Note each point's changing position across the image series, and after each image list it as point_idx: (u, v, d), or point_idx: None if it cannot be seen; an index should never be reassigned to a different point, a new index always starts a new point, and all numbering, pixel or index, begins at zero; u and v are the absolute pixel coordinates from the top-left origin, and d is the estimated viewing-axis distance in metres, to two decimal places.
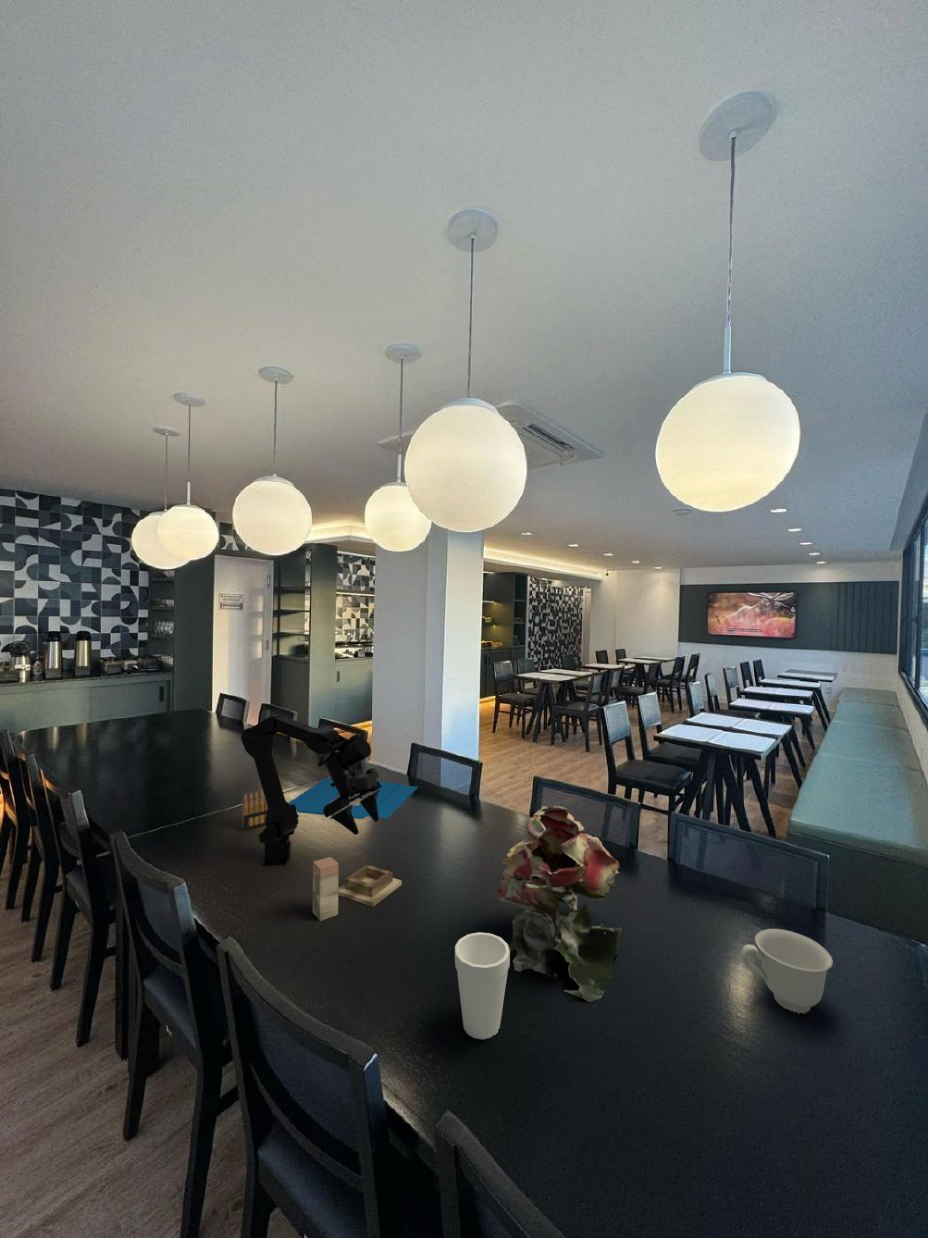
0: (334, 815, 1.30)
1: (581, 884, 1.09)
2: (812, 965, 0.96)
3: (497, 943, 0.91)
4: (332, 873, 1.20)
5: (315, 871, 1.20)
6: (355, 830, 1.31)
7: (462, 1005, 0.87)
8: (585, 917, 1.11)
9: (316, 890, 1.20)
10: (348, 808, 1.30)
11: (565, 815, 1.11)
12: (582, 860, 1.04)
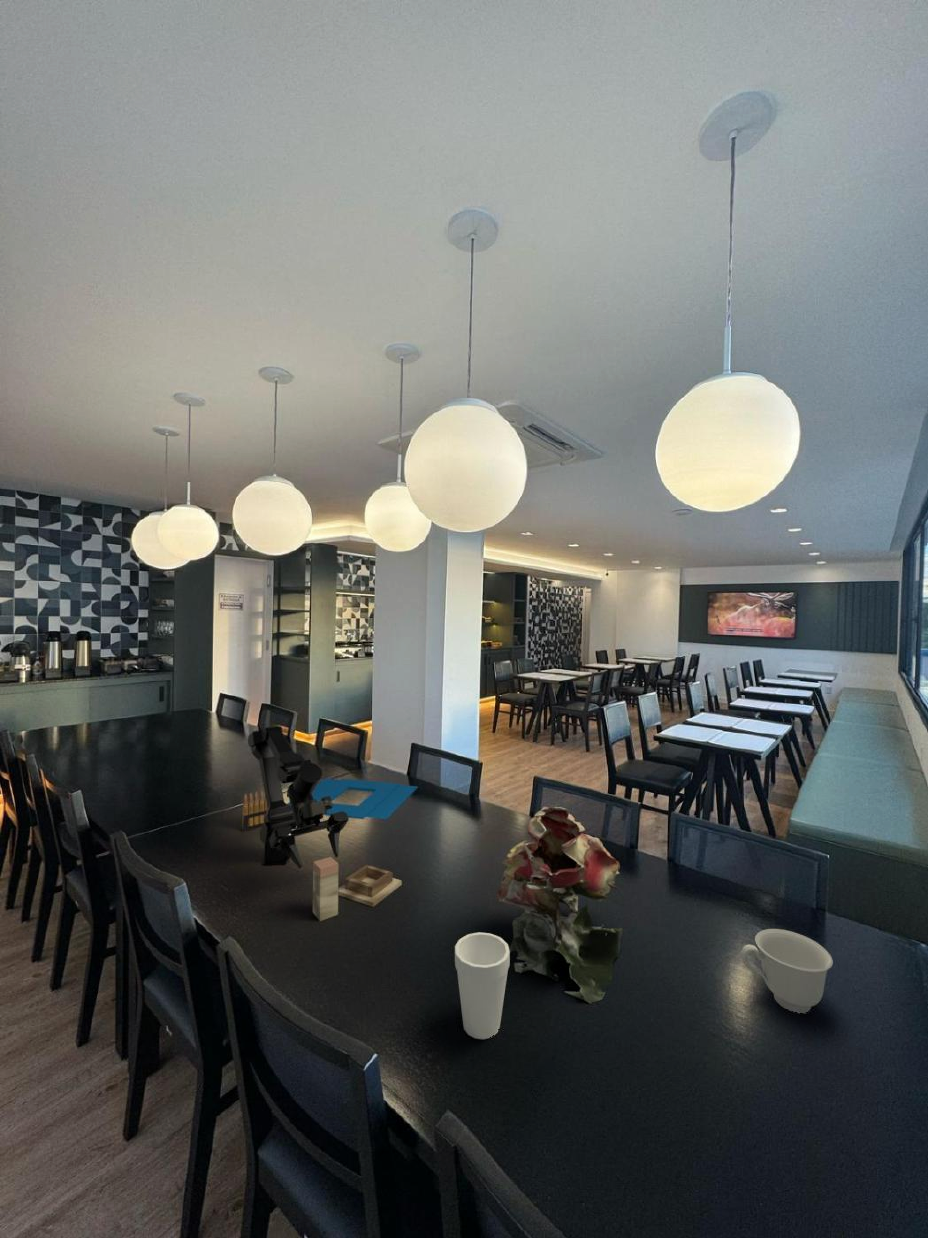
0: (278, 845, 1.24)
1: (582, 885, 1.09)
2: (812, 965, 0.96)
3: (497, 943, 0.91)
4: (332, 873, 1.20)
5: (315, 871, 1.20)
6: (298, 863, 1.21)
7: (462, 1005, 0.87)
8: (586, 918, 1.11)
9: (316, 890, 1.20)
10: (288, 837, 1.22)
11: (566, 816, 1.10)
12: (583, 861, 1.04)
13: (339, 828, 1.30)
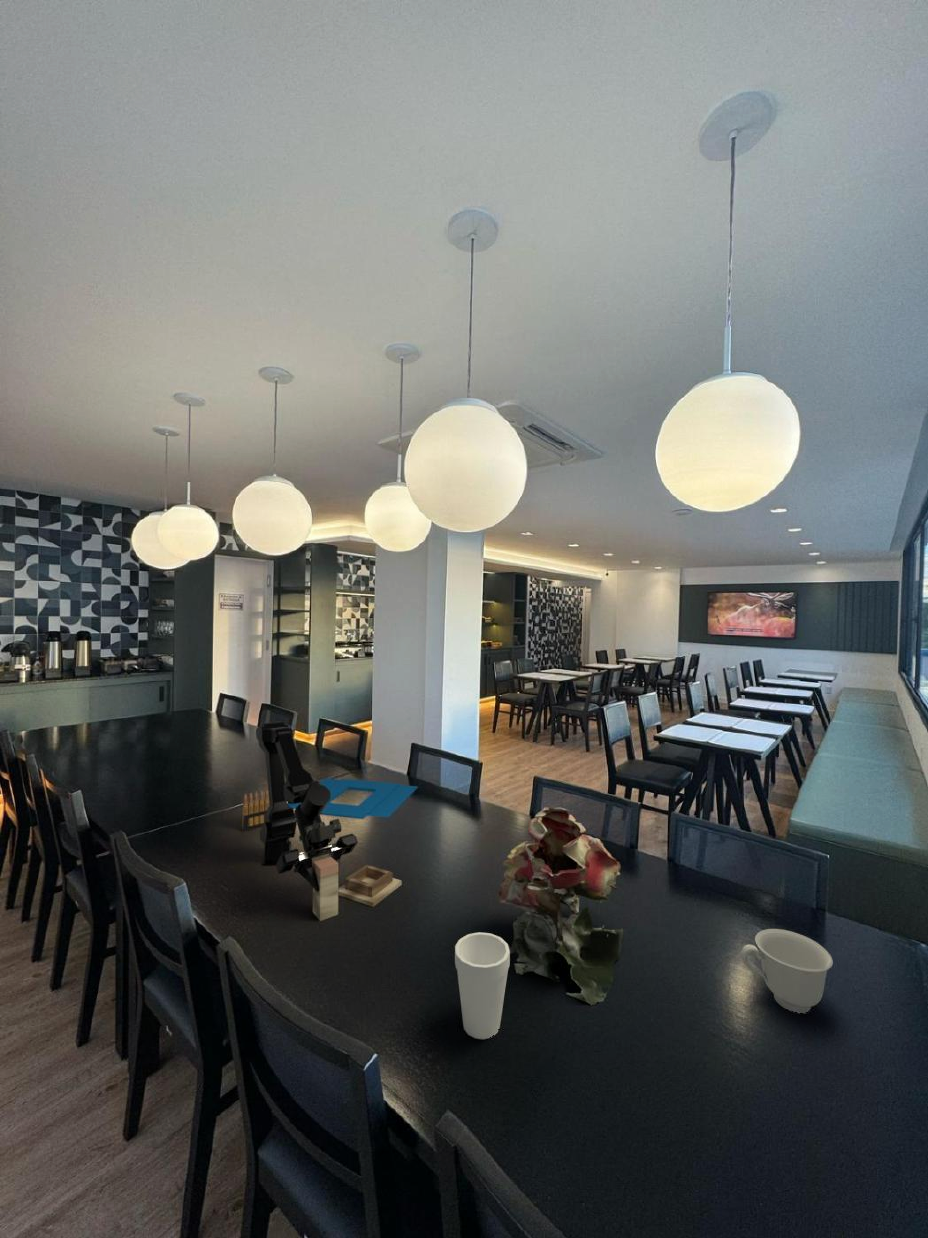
0: (295, 868, 1.21)
1: (582, 886, 1.08)
2: (812, 965, 0.96)
3: (497, 943, 0.91)
4: (332, 873, 1.20)
5: (315, 871, 1.20)
6: (315, 886, 1.19)
7: (462, 1005, 0.87)
8: (586, 919, 1.10)
9: None
10: (305, 860, 1.20)
11: (566, 816, 1.10)
12: (584, 862, 1.04)
13: (339, 854, 1.25)
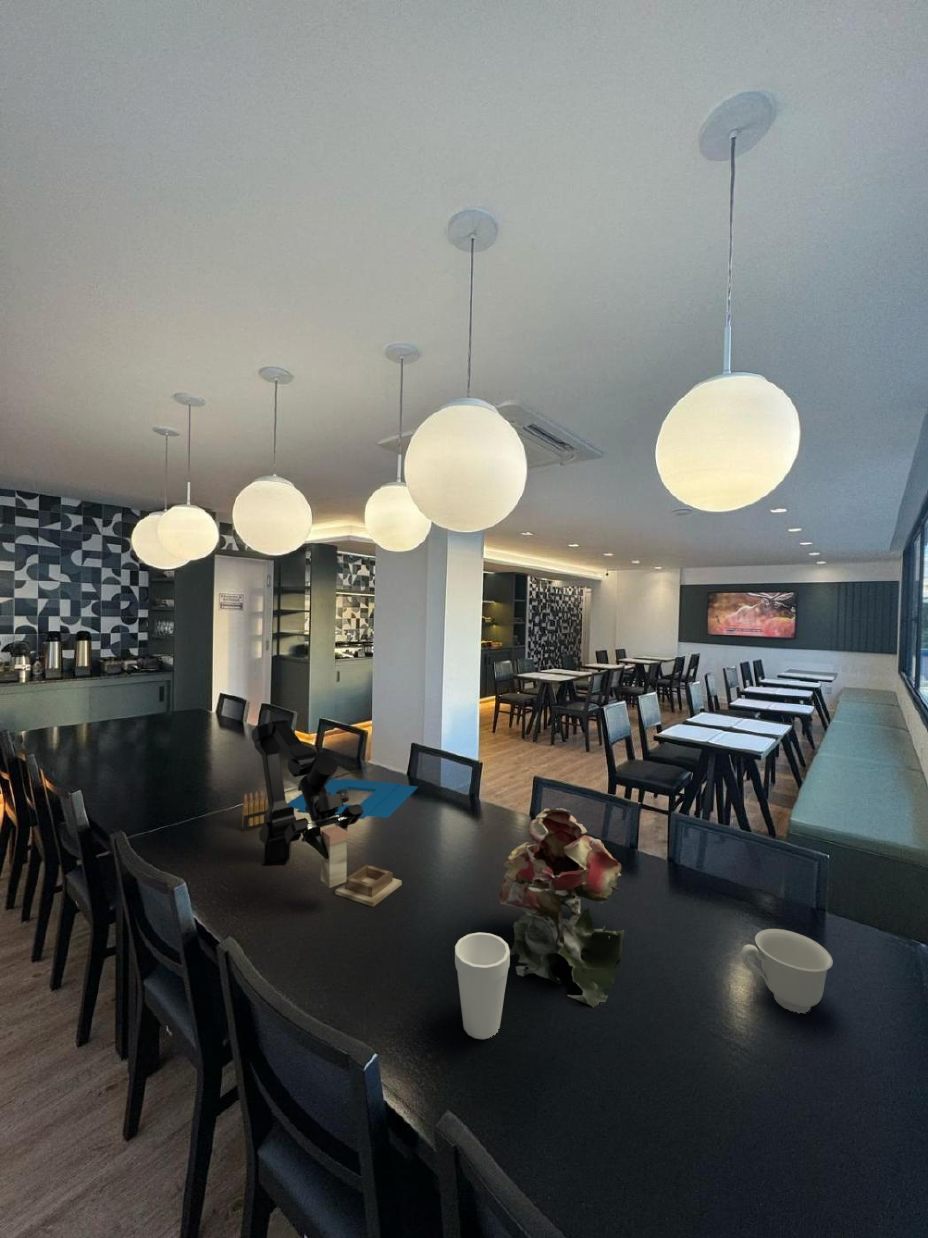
0: (303, 837, 1.22)
1: (584, 887, 1.08)
2: (812, 965, 0.96)
3: (497, 943, 0.91)
4: (341, 841, 1.22)
5: (324, 839, 1.22)
6: (324, 854, 1.20)
7: (462, 1005, 0.87)
8: (587, 920, 1.10)
9: (324, 858, 1.21)
10: (314, 829, 1.21)
11: (567, 817, 1.09)
12: (585, 863, 1.03)
13: (347, 823, 1.26)
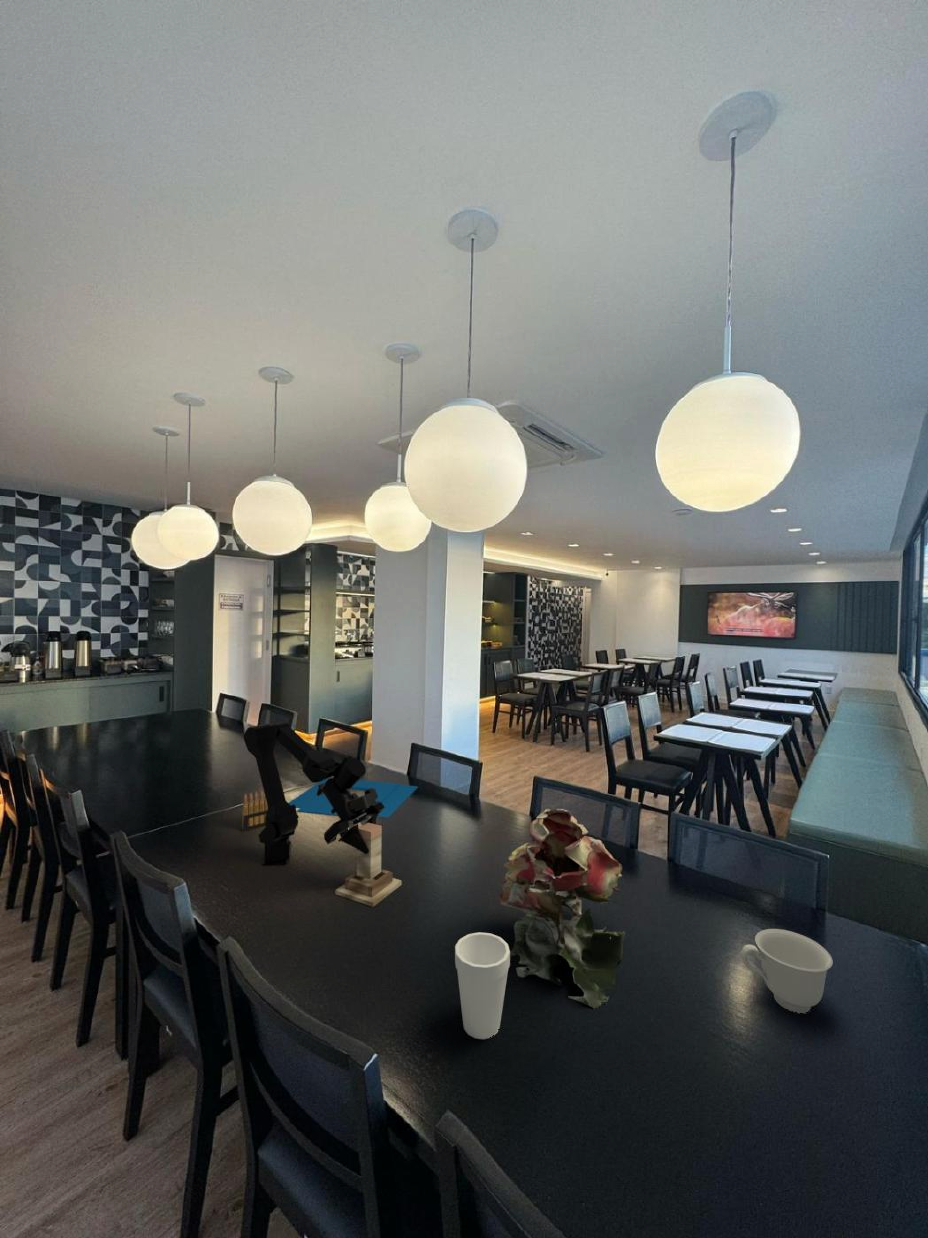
0: (341, 837, 1.29)
1: (584, 888, 1.08)
2: (812, 965, 0.96)
3: (497, 943, 0.91)
4: (378, 835, 1.32)
5: (361, 836, 1.31)
6: (365, 849, 1.29)
7: (462, 1005, 0.87)
8: (588, 921, 1.10)
9: (363, 854, 1.30)
10: (354, 827, 1.29)
11: (568, 818, 1.09)
12: (586, 864, 1.03)
13: (375, 819, 1.37)
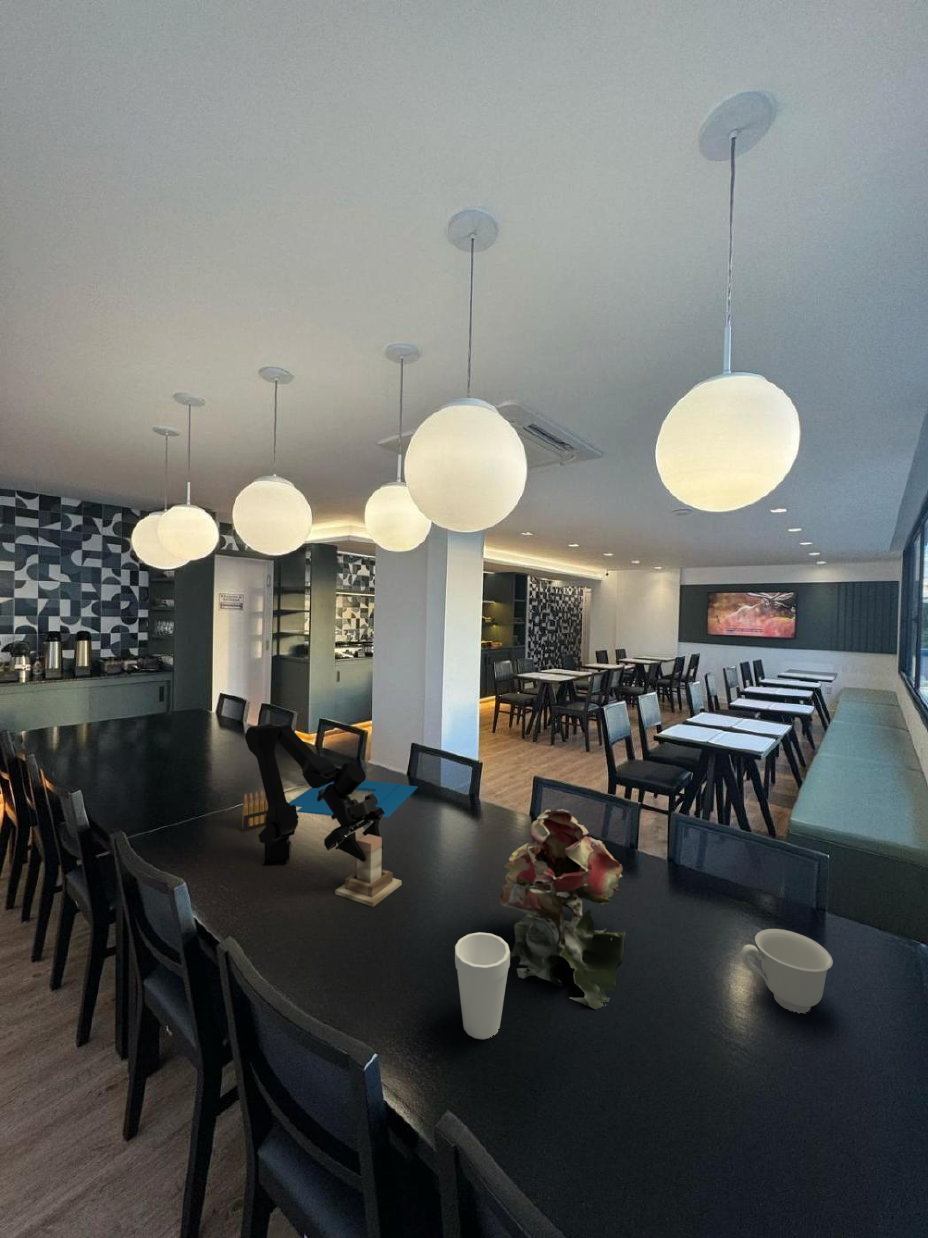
0: (339, 844, 1.28)
1: (585, 888, 1.07)
2: (812, 965, 0.96)
3: (497, 943, 0.91)
4: (378, 847, 1.32)
5: (361, 848, 1.31)
6: (362, 857, 1.28)
7: (462, 1005, 0.87)
8: (589, 922, 1.09)
9: (363, 865, 1.30)
10: (351, 835, 1.28)
11: (568, 818, 1.09)
12: (586, 864, 1.03)
13: (378, 824, 1.37)
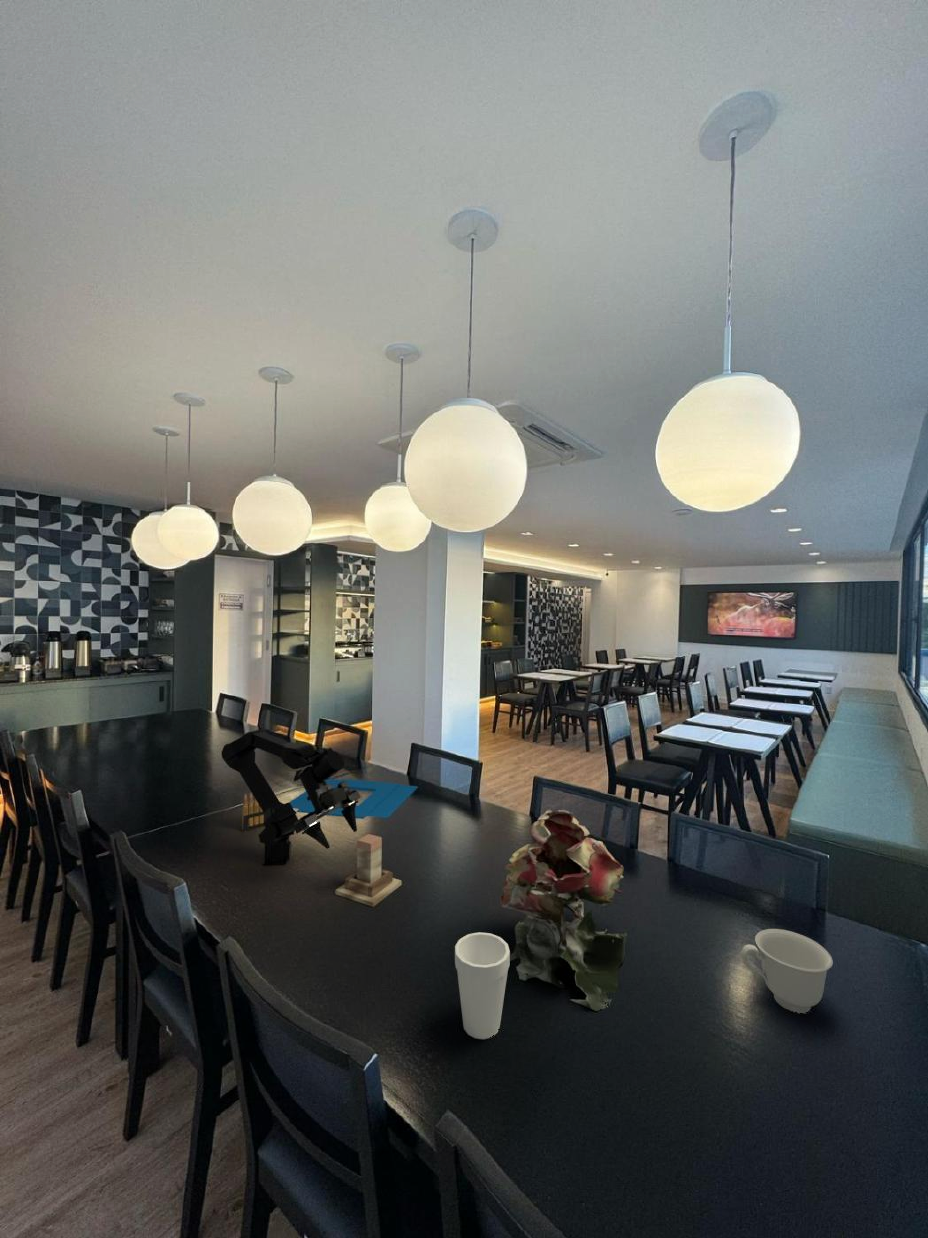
0: (304, 831, 1.34)
1: (586, 889, 1.07)
2: (812, 965, 0.96)
3: (497, 943, 0.91)
4: (378, 847, 1.32)
5: (361, 848, 1.31)
6: (326, 845, 1.34)
7: (462, 1005, 0.87)
8: (590, 923, 1.09)
9: (363, 865, 1.30)
10: (315, 825, 1.32)
11: (569, 819, 1.08)
12: (588, 865, 1.02)
13: (354, 806, 1.43)
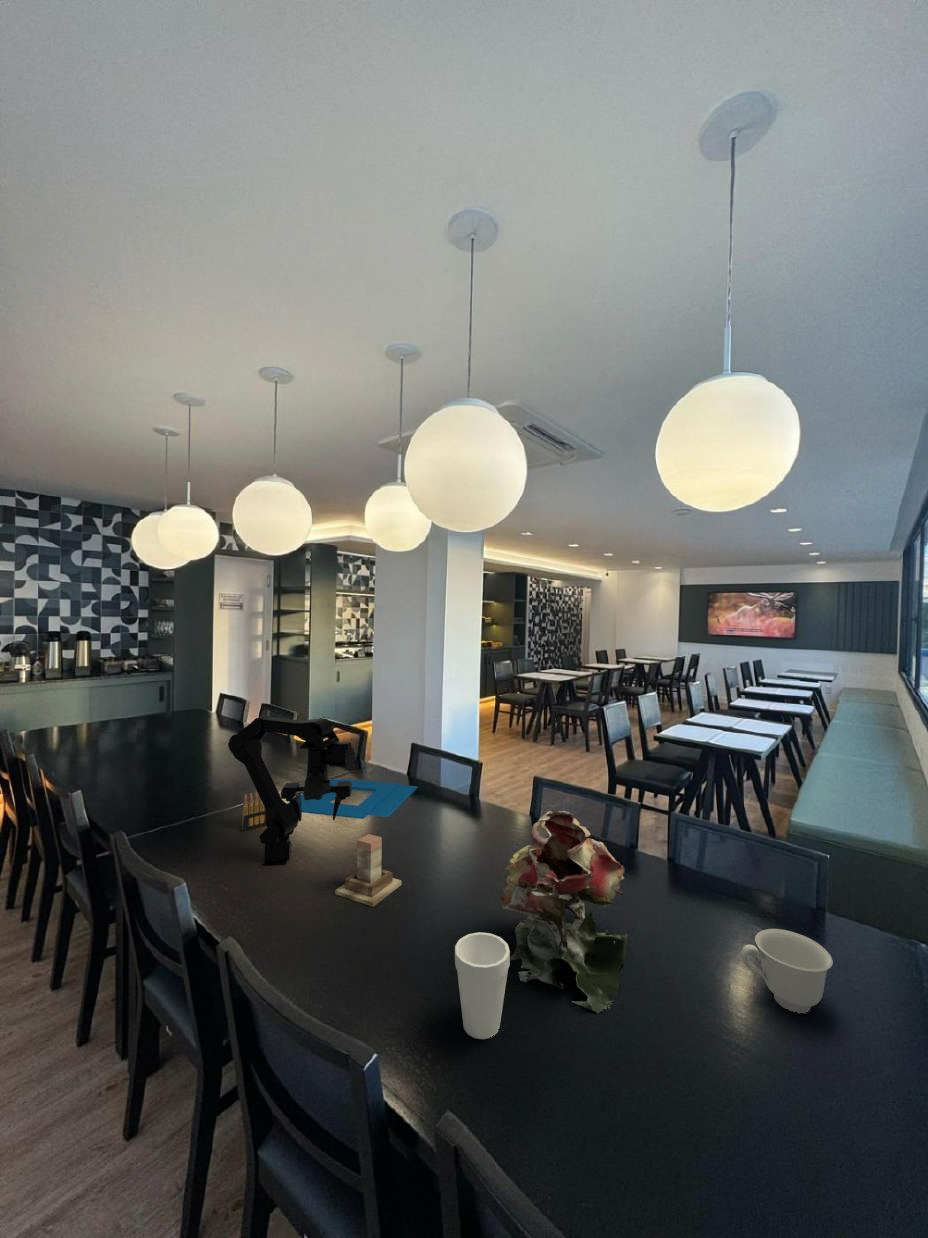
0: None
1: (587, 891, 1.06)
2: (812, 965, 0.96)
3: (497, 943, 0.91)
4: (378, 847, 1.32)
5: (361, 848, 1.31)
6: (298, 817, 1.43)
7: (462, 1005, 0.87)
8: (590, 924, 1.08)
9: (363, 865, 1.30)
10: (290, 801, 1.40)
11: (570, 820, 1.08)
12: (588, 866, 1.02)
13: (339, 801, 1.43)
